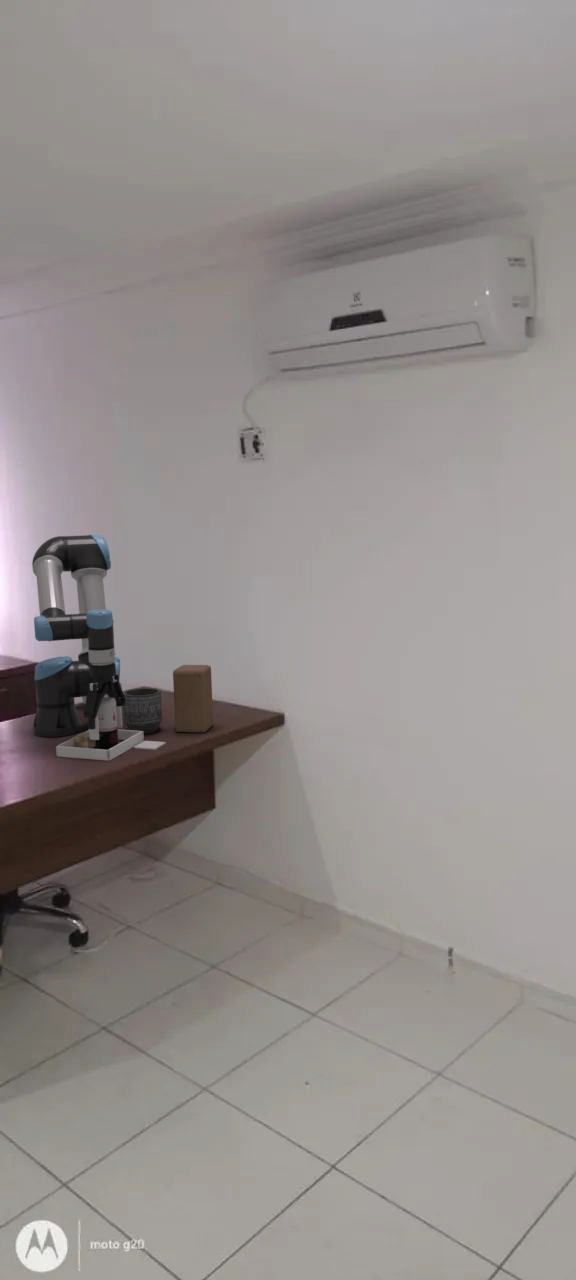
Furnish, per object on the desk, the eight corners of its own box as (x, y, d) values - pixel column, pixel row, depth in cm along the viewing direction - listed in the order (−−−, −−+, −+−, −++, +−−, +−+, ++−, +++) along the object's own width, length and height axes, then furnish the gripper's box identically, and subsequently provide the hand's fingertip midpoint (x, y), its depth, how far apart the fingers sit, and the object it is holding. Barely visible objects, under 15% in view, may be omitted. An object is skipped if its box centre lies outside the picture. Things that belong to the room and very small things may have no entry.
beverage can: (110, 744, 279) (107, 696, 276) (123, 748, 275) (120, 699, 272) (91, 749, 274) (88, 700, 272) (104, 753, 270) (101, 703, 267)
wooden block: (205, 733, 289) (202, 670, 285) (174, 732, 291) (171, 670, 287) (214, 725, 298) (211, 664, 295) (184, 724, 300) (181, 664, 297)
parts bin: (56, 756, 268) (55, 746, 268) (94, 737, 288) (93, 727, 287) (109, 760, 262) (108, 750, 262) (144, 740, 282) (143, 731, 282)
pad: (133, 748, 274) (133, 746, 274) (145, 741, 281) (144, 740, 281) (155, 749, 272) (155, 748, 272) (165, 743, 279) (165, 742, 279)
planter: (170, 728, 296) (168, 689, 294) (146, 737, 285) (144, 697, 283) (140, 724, 302) (138, 685, 300) (116, 733, 292) (113, 693, 289)
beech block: (76, 748, 276) (75, 735, 275) (83, 745, 279) (82, 732, 279) (88, 749, 274) (87, 736, 274) (95, 746, 278) (94, 733, 277)
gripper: (91, 671, 257) (95, 745, 261) (134, 655, 280) (137, 723, 284) (67, 670, 260) (72, 743, 263) (112, 654, 283) (116, 721, 286)
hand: (106, 733), depth 274 cm, fingers open, 13 cm apart
